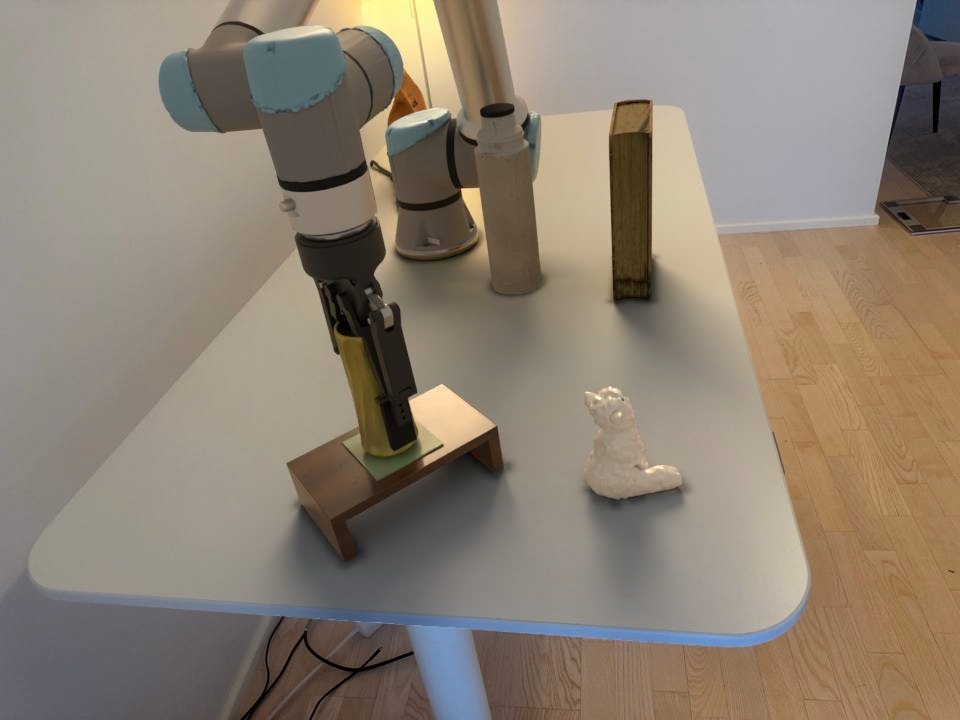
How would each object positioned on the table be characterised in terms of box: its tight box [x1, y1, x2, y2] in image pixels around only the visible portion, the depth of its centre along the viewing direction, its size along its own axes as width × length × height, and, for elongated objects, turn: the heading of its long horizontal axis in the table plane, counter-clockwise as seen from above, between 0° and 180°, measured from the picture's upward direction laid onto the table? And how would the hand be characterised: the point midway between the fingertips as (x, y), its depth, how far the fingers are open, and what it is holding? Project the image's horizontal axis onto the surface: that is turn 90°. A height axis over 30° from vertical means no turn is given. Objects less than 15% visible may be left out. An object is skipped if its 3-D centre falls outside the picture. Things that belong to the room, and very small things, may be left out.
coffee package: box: [386, 68, 428, 129], centre depth 163 cm, size 10×12×22 cm
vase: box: [334, 321, 418, 457], centre depth 72 cm, size 6×6×14 cm
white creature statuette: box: [583, 385, 683, 501], centre depth 72 cm, size 10×9×12 cm
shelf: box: [286, 383, 505, 563], centre depth 78 cm, size 11×20×6 cm, turn 126°
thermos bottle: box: [474, 103, 542, 296], centre depth 108 cm, size 8×8×28 cm
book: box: [608, 98, 654, 301], centre depth 106 cm, size 16×6×25 cm, turn 168°
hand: (388, 428), depth 75 cm, fingers closed on vase, 6 cm apart
